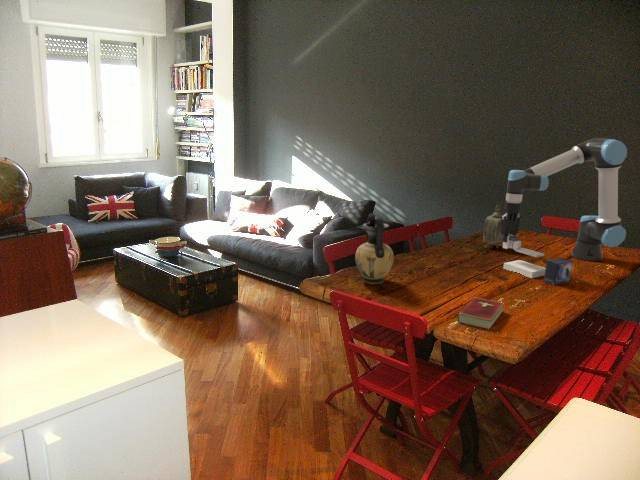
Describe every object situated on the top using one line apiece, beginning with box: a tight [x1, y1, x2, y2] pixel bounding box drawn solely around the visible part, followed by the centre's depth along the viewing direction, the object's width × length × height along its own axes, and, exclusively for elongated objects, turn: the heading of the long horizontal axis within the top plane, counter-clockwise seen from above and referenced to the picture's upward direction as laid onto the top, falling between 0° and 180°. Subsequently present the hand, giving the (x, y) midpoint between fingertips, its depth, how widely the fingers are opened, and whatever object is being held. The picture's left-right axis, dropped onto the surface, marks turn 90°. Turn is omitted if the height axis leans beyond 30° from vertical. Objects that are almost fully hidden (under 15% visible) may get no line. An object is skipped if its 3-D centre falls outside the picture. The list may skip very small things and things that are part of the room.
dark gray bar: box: [499, 233, 545, 258], centre depth 262 cm, size 24×6×6 cm, turn 32°
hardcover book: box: [457, 296, 505, 330], centre depth 203 cm, size 12×21×4 cm, turn 149°
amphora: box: [354, 213, 394, 285], centre depth 237 cm, size 18×17×30 cm
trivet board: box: [502, 259, 546, 279], centre depth 261 cm, size 16×12×3 cm
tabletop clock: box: [482, 203, 503, 249], centre depth 302 cm, size 14×9×25 cm, turn 144°
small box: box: [543, 257, 574, 286], centre depth 246 cm, size 11×6×10 cm, turn 117°
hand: (507, 247), depth 269 cm, fingers closed on dark gray bar, 2 cm apart
